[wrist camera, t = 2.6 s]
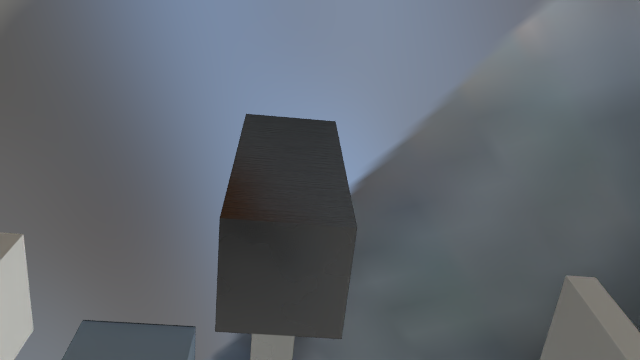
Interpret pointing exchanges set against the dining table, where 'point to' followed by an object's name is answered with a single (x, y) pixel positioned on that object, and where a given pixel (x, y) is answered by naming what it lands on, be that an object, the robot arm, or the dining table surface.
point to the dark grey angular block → (285, 236)
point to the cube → (131, 341)
